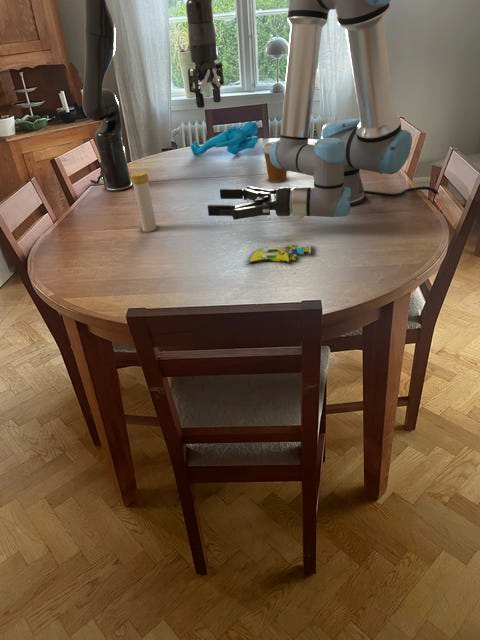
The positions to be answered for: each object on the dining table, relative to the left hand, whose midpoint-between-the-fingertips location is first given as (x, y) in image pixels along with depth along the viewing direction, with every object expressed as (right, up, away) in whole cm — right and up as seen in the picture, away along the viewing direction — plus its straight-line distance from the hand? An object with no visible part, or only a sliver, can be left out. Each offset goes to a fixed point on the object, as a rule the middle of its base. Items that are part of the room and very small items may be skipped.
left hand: (209, 104), depth 142 cm
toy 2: (+19, -48, -22) cm, 56 cm away
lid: (-19, -24, -9) cm, 32 cm away
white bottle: (-18, -37, -1) cm, 41 cm away
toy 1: (+3, +8, +67) cm, 67 cm away
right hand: (+2, -31, -10) cm, 33 cm away
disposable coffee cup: (+23, -14, +30) cm, 40 cm away
